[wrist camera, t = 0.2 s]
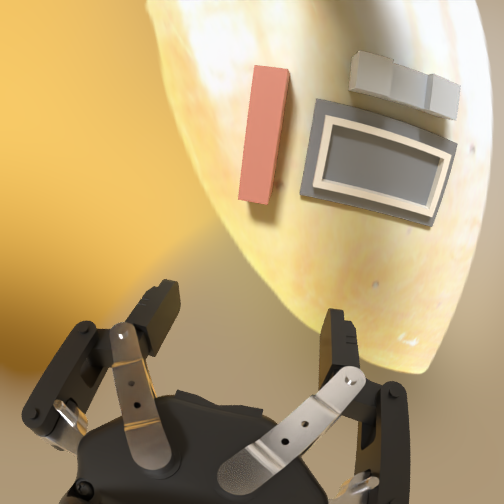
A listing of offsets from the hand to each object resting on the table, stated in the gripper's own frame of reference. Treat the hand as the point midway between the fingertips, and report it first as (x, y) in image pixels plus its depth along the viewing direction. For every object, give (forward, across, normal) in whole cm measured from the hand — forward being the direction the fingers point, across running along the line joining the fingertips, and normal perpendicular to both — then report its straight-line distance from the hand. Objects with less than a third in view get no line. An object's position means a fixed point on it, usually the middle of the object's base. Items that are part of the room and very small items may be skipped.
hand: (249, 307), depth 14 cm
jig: (+29, -14, -3) cm, 32 cm away
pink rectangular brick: (+29, +3, -5) cm, 30 cm away
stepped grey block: (+29, -14, -15) cm, 36 cm away
